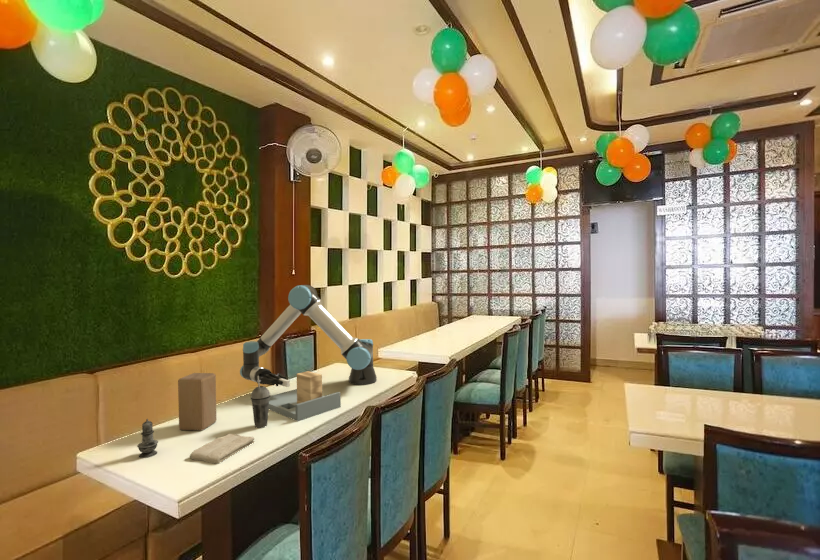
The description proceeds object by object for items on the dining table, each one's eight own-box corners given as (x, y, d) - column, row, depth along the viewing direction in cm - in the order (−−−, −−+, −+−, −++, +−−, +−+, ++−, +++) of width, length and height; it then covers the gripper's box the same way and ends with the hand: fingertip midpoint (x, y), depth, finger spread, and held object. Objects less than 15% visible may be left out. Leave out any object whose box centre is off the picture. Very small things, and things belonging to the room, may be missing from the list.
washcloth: (256, 443, 144) (256, 434, 144) (218, 466, 127) (218, 456, 127) (229, 439, 148) (229, 430, 148) (189, 461, 131) (188, 451, 131)
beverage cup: (274, 423, 161) (273, 373, 161) (262, 430, 154) (261, 378, 154) (259, 421, 163) (258, 372, 163) (246, 428, 156) (245, 376, 156)
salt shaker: (143, 450, 137) (142, 415, 137) (162, 450, 138) (161, 415, 138) (133, 458, 132) (132, 422, 131) (152, 458, 132) (151, 421, 132)
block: (217, 421, 164) (216, 372, 163) (202, 431, 154) (201, 379, 153) (194, 421, 165) (193, 372, 164) (177, 430, 155) (176, 378, 154)
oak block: (308, 399, 183) (308, 371, 182) (322, 404, 176) (321, 374, 176) (297, 403, 178) (296, 373, 178) (310, 407, 172) (310, 377, 171)
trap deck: (299, 393, 201) (299, 380, 201) (340, 407, 180) (340, 392, 180) (257, 404, 184) (257, 390, 184) (297, 421, 163) (297, 405, 163)
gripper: (273, 380, 206) (300, 388, 191) (248, 386, 197) (275, 395, 181) (272, 365, 206) (300, 372, 191) (248, 370, 196) (275, 378, 181)
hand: (288, 383), depth 186 cm, fingers closed
